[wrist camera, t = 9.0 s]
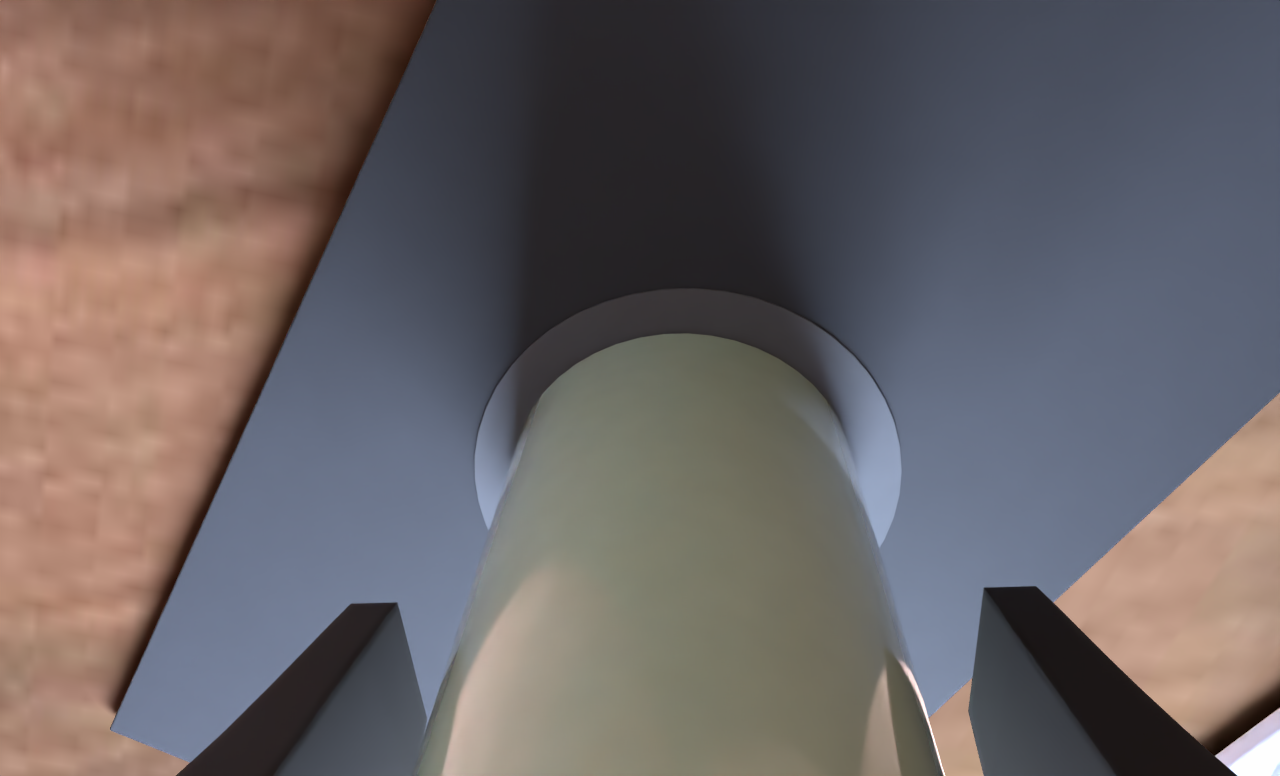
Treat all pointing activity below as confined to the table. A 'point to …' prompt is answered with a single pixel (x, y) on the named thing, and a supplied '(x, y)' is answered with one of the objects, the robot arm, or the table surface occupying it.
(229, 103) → the table surface
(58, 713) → the table surface
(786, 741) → the pen holder
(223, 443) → the table surface
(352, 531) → the desk mat
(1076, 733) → the robot arm
